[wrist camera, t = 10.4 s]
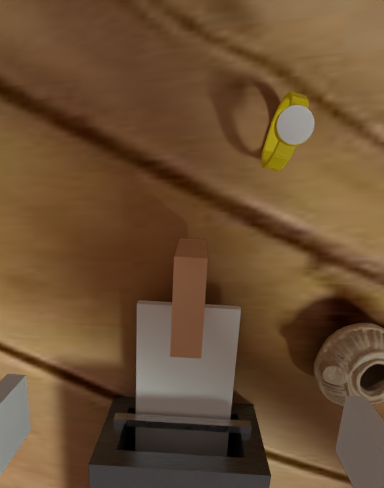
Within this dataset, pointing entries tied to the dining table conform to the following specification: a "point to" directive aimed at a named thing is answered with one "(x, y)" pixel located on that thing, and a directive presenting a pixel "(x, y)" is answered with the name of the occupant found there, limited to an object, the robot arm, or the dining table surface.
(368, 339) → the pottery oil lamp
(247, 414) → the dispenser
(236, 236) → the dining table surface
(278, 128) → the watch
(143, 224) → the dining table surface
